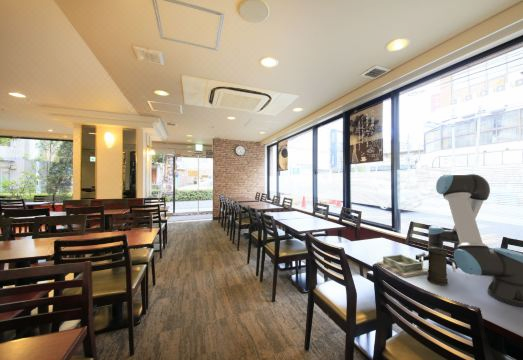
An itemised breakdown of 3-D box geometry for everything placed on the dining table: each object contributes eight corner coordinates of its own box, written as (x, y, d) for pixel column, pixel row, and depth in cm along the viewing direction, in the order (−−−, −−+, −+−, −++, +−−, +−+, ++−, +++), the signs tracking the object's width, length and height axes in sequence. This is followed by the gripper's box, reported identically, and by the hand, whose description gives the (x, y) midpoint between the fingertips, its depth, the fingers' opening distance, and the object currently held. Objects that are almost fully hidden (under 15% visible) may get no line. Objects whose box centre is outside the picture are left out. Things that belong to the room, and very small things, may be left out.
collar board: (429, 272, 129) (429, 264, 129) (404, 277, 123) (404, 268, 123) (399, 260, 148) (400, 252, 148) (377, 263, 143) (377, 255, 143)
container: (451, 286, 113) (452, 253, 113) (432, 284, 115) (433, 252, 115) (441, 278, 122) (441, 247, 122) (423, 277, 124) (424, 246, 124)
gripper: (463, 265, 125) (469, 279, 108) (411, 255, 140) (410, 266, 123) (463, 253, 125) (469, 265, 108) (411, 244, 140) (410, 254, 123)
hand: (437, 265), depth 116 cm, fingers open, 13 cm apart
